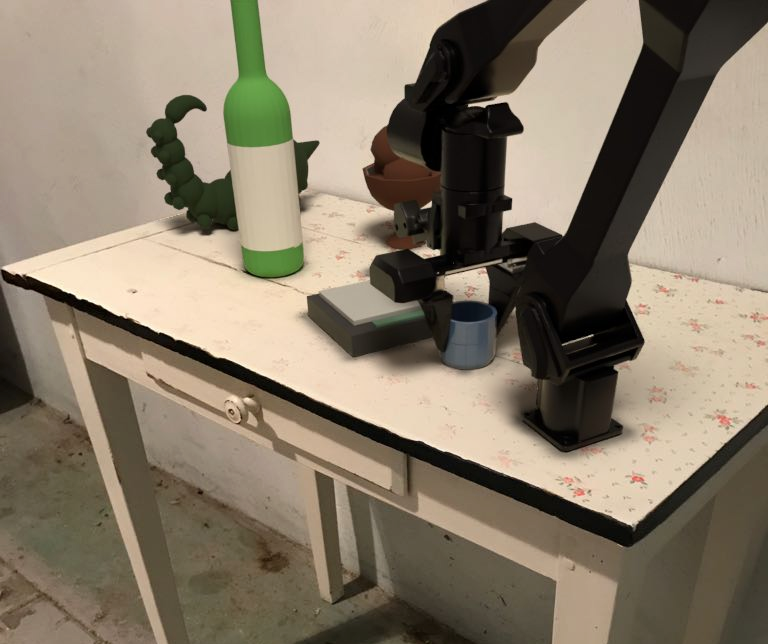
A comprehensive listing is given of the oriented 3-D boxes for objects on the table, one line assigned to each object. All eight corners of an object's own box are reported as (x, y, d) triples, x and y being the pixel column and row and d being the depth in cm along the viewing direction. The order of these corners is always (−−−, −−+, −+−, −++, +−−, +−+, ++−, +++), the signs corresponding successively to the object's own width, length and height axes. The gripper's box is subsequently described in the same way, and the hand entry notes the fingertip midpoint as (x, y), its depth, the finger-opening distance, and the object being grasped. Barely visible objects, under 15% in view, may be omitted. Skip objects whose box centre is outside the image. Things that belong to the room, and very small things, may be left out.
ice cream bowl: (440, 257, 107) (441, 133, 98) (356, 253, 109) (350, 131, 100) (451, 230, 115) (453, 113, 106) (373, 227, 117) (369, 113, 108)
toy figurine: (194, 257, 114) (344, 205, 124) (156, 111, 102) (325, 66, 112) (167, 240, 120) (311, 191, 130) (128, 100, 108) (290, 58, 118)
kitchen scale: (453, 332, 88) (454, 305, 87) (352, 357, 84) (351, 330, 82) (401, 294, 97) (401, 270, 95) (308, 316, 93) (305, 290, 91)
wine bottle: (233, 267, 106) (193, -6, 88) (284, 253, 110) (256, -12, 91) (264, 284, 101) (228, -2, 83) (316, 269, 104) (293, -9, 86)
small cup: (505, 362, 82) (508, 315, 79) (457, 375, 80) (458, 328, 77) (475, 341, 86) (477, 296, 83) (429, 353, 84) (429, 307, 81)
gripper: (509, 149, 82) (501, 298, 92) (340, 178, 76) (349, 335, 85) (578, 175, 74) (561, 335, 83) (395, 209, 68) (399, 379, 77)
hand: (467, 344), depth 82 cm, fingers closed on small cup, 6 cm apart
